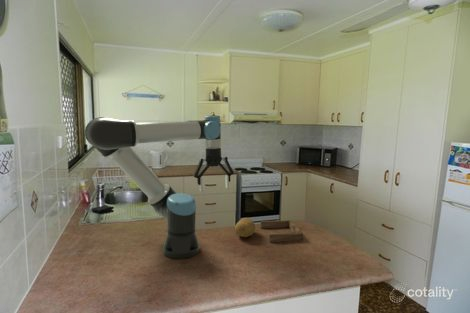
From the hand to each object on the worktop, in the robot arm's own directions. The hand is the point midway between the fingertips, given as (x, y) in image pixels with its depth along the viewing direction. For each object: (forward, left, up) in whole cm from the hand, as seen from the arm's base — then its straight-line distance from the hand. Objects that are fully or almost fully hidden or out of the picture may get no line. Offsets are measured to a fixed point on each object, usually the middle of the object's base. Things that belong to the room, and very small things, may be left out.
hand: (214, 189), depth 142 cm
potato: (-9, -14, -21) cm, 27 cm away
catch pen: (-9, -32, -21) cm, 40 cm away
